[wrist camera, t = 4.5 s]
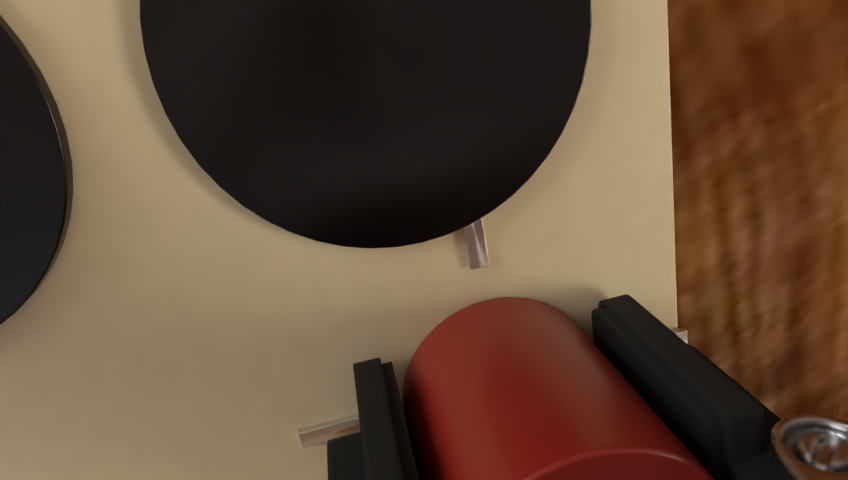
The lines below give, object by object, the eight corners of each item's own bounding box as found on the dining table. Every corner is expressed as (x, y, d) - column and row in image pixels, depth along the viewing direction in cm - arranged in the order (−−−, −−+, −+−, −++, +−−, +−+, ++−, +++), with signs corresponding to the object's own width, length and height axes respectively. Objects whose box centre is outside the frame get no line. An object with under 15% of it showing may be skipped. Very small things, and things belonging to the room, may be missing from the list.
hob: (-42, 591, 15) (-129, 728, 12) (-479, -64, 10) (-831, -104, 7) (625, 407, 17) (691, 487, 14) (578, -234, 11) (671, -326, 8)
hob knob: (421, 486, 13) (480, 737, 8) (382, 324, 11) (428, 520, 7) (598, 436, 13) (747, 650, 8) (582, 273, 12) (753, 428, 7)
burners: (-300, 409, 10) (-318, 420, 9) (-667, -69, 7) (-708, -74, 7) (599, 195, 11) (607, 198, 11) (563, -262, 9) (571, -271, 8)
